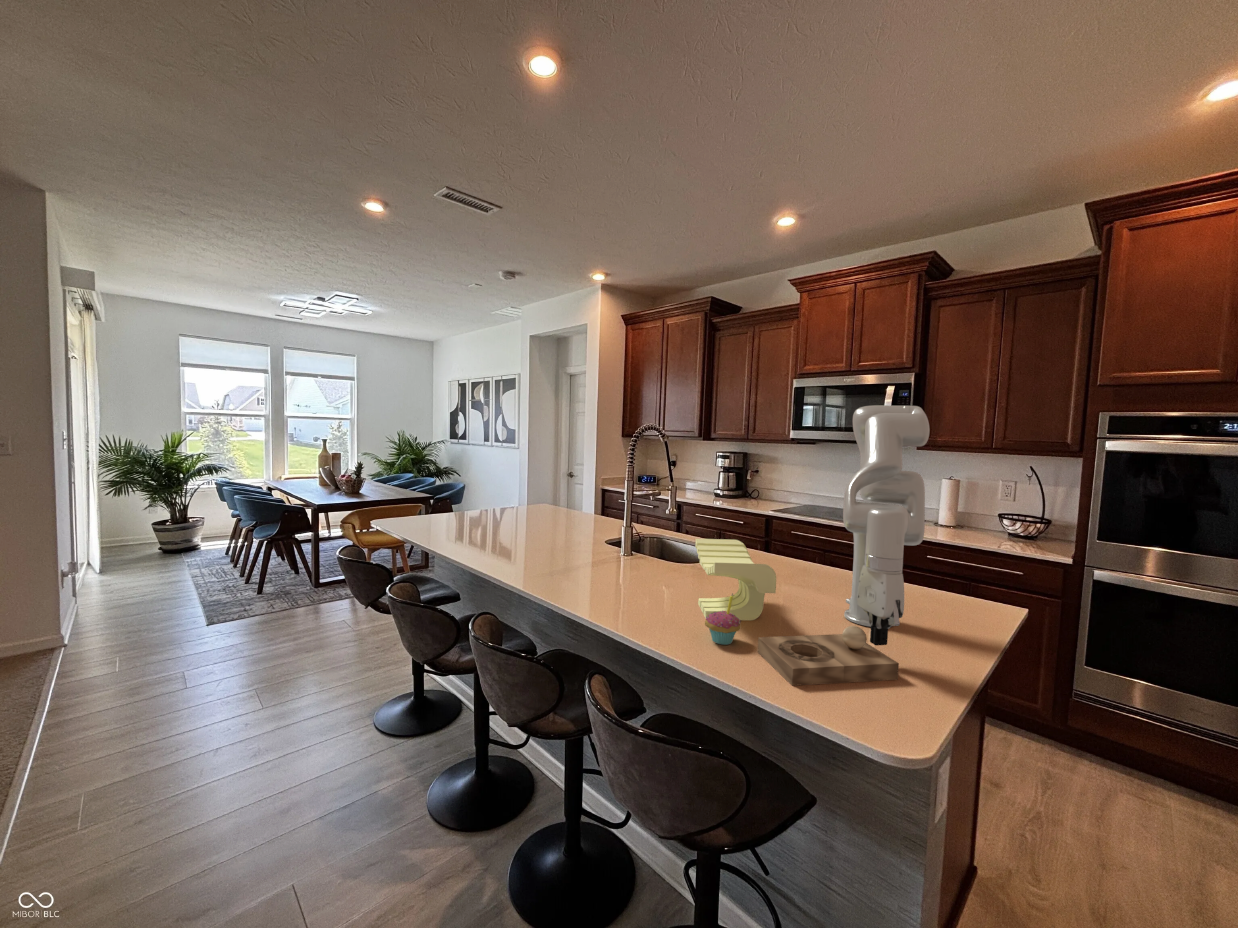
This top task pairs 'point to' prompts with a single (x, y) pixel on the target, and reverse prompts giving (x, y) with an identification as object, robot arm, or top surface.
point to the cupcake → (723, 625)
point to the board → (825, 660)
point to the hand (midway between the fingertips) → (878, 643)
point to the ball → (854, 637)
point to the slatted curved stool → (738, 564)
